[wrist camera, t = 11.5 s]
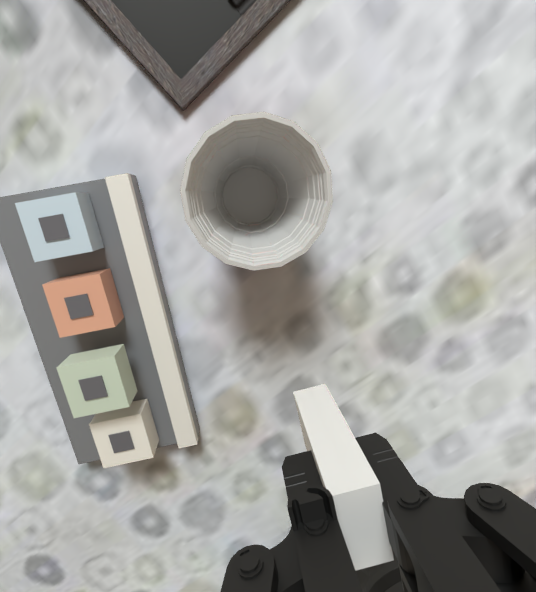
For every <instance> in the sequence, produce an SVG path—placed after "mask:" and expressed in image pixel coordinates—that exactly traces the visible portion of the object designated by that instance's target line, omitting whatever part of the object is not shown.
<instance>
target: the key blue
mask: <svg viewBox="0 0 536 592" xmlns="http://www.w3.org/2000/svg"><path fill="white" fill-rule="evenodd" d="M15 205H16V208H17V211H18V214H19V217H20V220H21V223H22V226H23V229H24V232H25V235H26V238H27V241H28V244H29V247H30V250H31V253H32V256H33V259H34V262H39V261H44V260H49V259H55V258H60V257H65V256H71V255H76V254H81V253H87V252H92V251H95V250H98V249H101V248H104V245H103V242H102V238H101V235H100V231H99V228H98V224H97V221H96V217H95V214H94V210H93V207H92V203H91V200H90V196H89V193H79V192H74V193H69V194H63V195H57V196H52V197H46V198H41V199H35V200H30V201H24V202H18V203H15Z"/></svg>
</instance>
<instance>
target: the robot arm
mask: <svg viewBox="0 0 536 592" xmlns="http://www.w3.org/2000/svg"><path fill="white" fill-rule="evenodd" d="M293 393H294V398H295V402H296V407H297V411H298V415H299V420H300V424H301V428H302V433H303V437H304V442H305V446H306V449H307V452H303V453H299V454H295V455H291V456H287V457H285V460H284V463H283V466H282V470H283V475H284V480H285V486H286V491H287V496H288V512H289V516H290V520H291V524H292V527H291V530H290V532H289V534H288V536H287V537H286V538H285V539H284V540H283V541H282V542H281V543H279V544H278V545H277V546H275V547H273V548H272V549H270V550H269V549H268V548H266V547H264V546H262V545H250V546H246V547H244V548H243V549H241V550H239V551H238V552H237V553H236V554H235V555H234V556H233V557H232V558H231V560H230V562H229V564H228V566H227V569H226V573H225V577H224V581H223V585H222V588H221V592H536V509H535V508H534V507H532V506H531V505H529V504H528V503H526V502H525V501H524V500H522V499H521V498H519V497H518V496H516V495H515V494H513V493H512V492H510V491H509V490H507V489H505V488H503V487H501V486H499V485H495V484H490V483H479V484H475V485H472V486H470V487H469V488H468V489H467V490H466V492H465V495H464V499H460V498H440V497H436V496H433V495H432V494H431V493H430V492H429V491H428V490H427V489H426V488H424V487H421V486H419V485H417V483H416V482H415V480H414V479H413V478H412V476H411V475H410V473H409V472H408V470H407V469H406V467H405V466H404V464H403V463H402V461H401V460H400V459H399V457H398V456H397V454H396V453H395V451H394V450H393V449H392V447H391V445H390V444H389V442H388V441H387V440H386V439H385V438H383V437H382V436H380V435H379V434H377V433H373V434H369V435H365V436H361V437H357V438H355V437H354V435H353V433H352V432H351V430H350V428H349V426H348V424H347V422H346V421H345V419H344V417H343V415H342V413H341V411H340V410H339V408H338V406H337V404H336V402H335V401H334V399H333V397H332V395H331V393H330V391H329V390H328V388H327V386H326V384H323V385H319V386H315V387H311V388H307V389H303V390H299V391H295V392H293Z"/></svg>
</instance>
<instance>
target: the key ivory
mask: <svg viewBox="0 0 536 592" xmlns="http://www.w3.org/2000/svg"><path fill="white" fill-rule="evenodd" d="M89 426H90V429H91V432H92V435H93V438H94V441H95V444H96V447H97V450H98V453H99V456H100V459H101V462H102V465H103V468H108V467H112V466H117V465H122V464H126V463H131V462H136V461H141V460H145V459H150V458H154V455H155V452H156V448H157V445H158V442H159V437H158V434H157V430H156V427H155V423H154V420H153V416H152V413H151V409H150V406H149V402H148V399H143V400H138V401H133V402H132V403H131V405H130V407H127V408H122V409H117V410H112V411H107V412H102V413H98V414H95V416H94V417H93V419H92V421H91V422H90V424H89Z"/></svg>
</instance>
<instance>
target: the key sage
mask: <svg viewBox="0 0 536 592" xmlns="http://www.w3.org/2000/svg"><path fill="white" fill-rule="evenodd" d="M56 368H57V371H58V374H59V377H60V380H61V383H62V386H63V389H64V392H65V394H66V397H67V400H68V403H69V406H70V409H71V412H72V415H73V418H78V417H83V416H88V415H93V414H98V413H102V412H107V411H112V410H117V409H122V408H127V407H130V405H131V403H132V401H133V399H134V397H135V395H136V393H137V388H136V384H135V381H134V377H133V374H132V370H131V367H130V364H129V360H128V357H127V353H126V350H125V346H124V344H120V345H115V346H110V347H105V348H100V349H95V350H90V351H85V352H80V353H75V354H70V355H69V356H68V357H67V358H66V359H65V360H64V361H63V362H62V363H61V364H60V365H59V366H58V367H56Z"/></svg>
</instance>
